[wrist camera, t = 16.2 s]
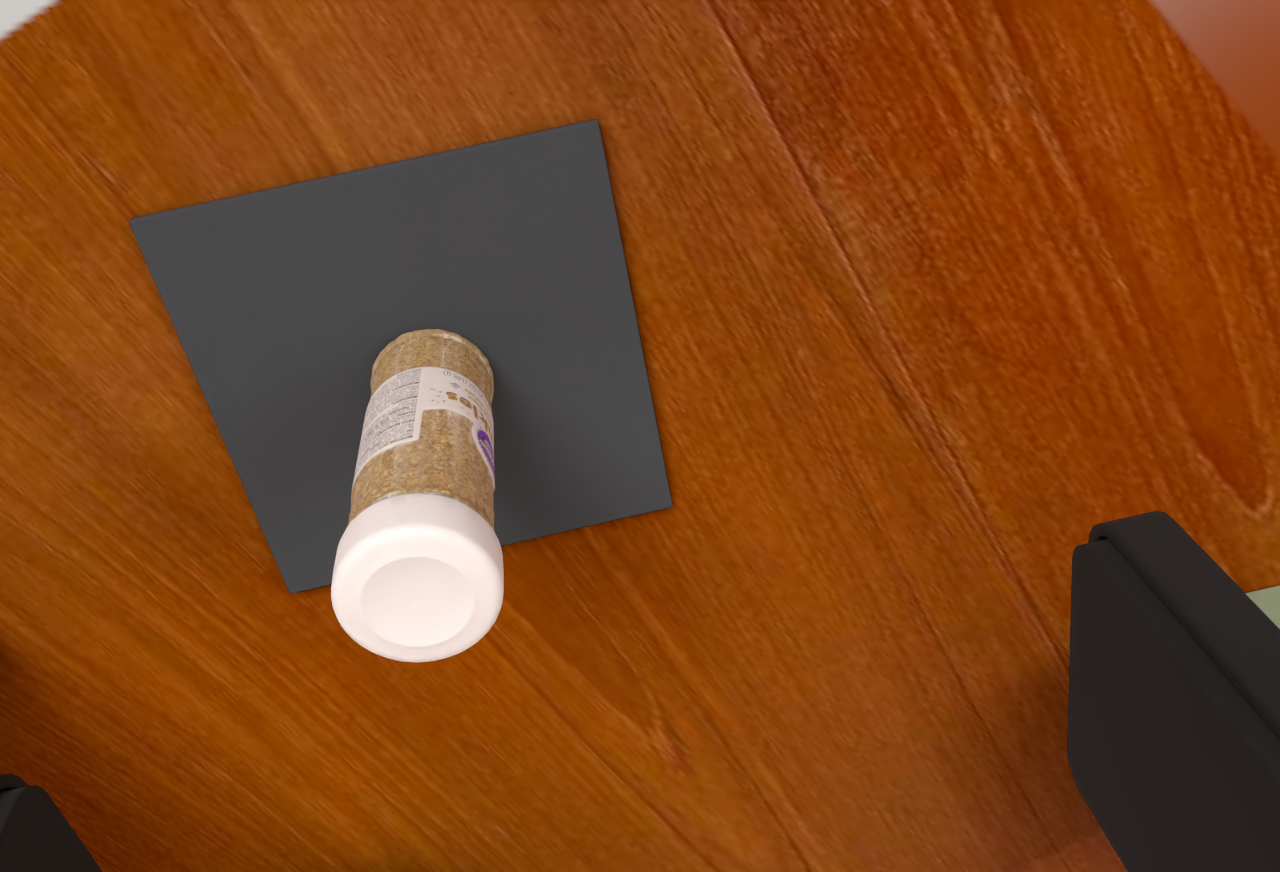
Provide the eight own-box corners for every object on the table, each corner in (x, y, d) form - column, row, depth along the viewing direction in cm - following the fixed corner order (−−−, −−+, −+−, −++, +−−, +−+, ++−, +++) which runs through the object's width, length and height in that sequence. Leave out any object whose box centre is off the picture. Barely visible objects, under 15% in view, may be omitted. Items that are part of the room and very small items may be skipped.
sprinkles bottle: (517, 394, 41) (537, 617, 29) (417, 453, 41) (399, 695, 30) (446, 299, 39) (438, 501, 27) (342, 364, 39) (291, 588, 28)
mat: (597, 118, 37) (598, 121, 36) (671, 501, 45) (673, 507, 44) (131, 217, 36) (127, 221, 36) (291, 588, 44) (289, 594, 44)
